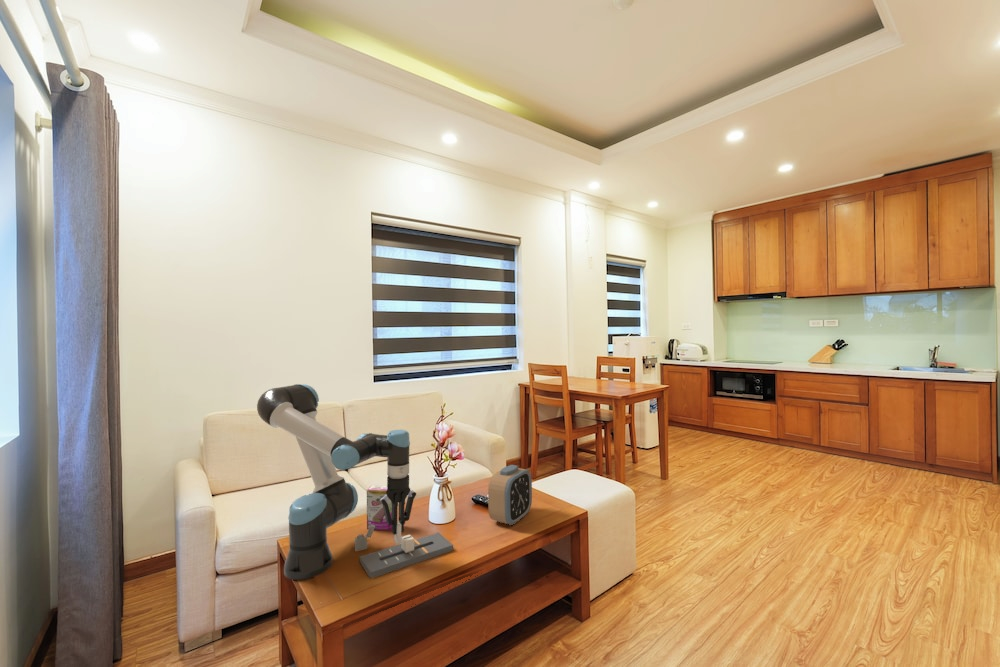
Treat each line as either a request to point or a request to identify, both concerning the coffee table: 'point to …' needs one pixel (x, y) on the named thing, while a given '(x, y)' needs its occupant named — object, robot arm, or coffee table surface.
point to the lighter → (363, 539)
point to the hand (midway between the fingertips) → (397, 542)
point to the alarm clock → (510, 494)
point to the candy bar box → (377, 508)
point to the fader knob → (407, 543)
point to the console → (404, 555)
